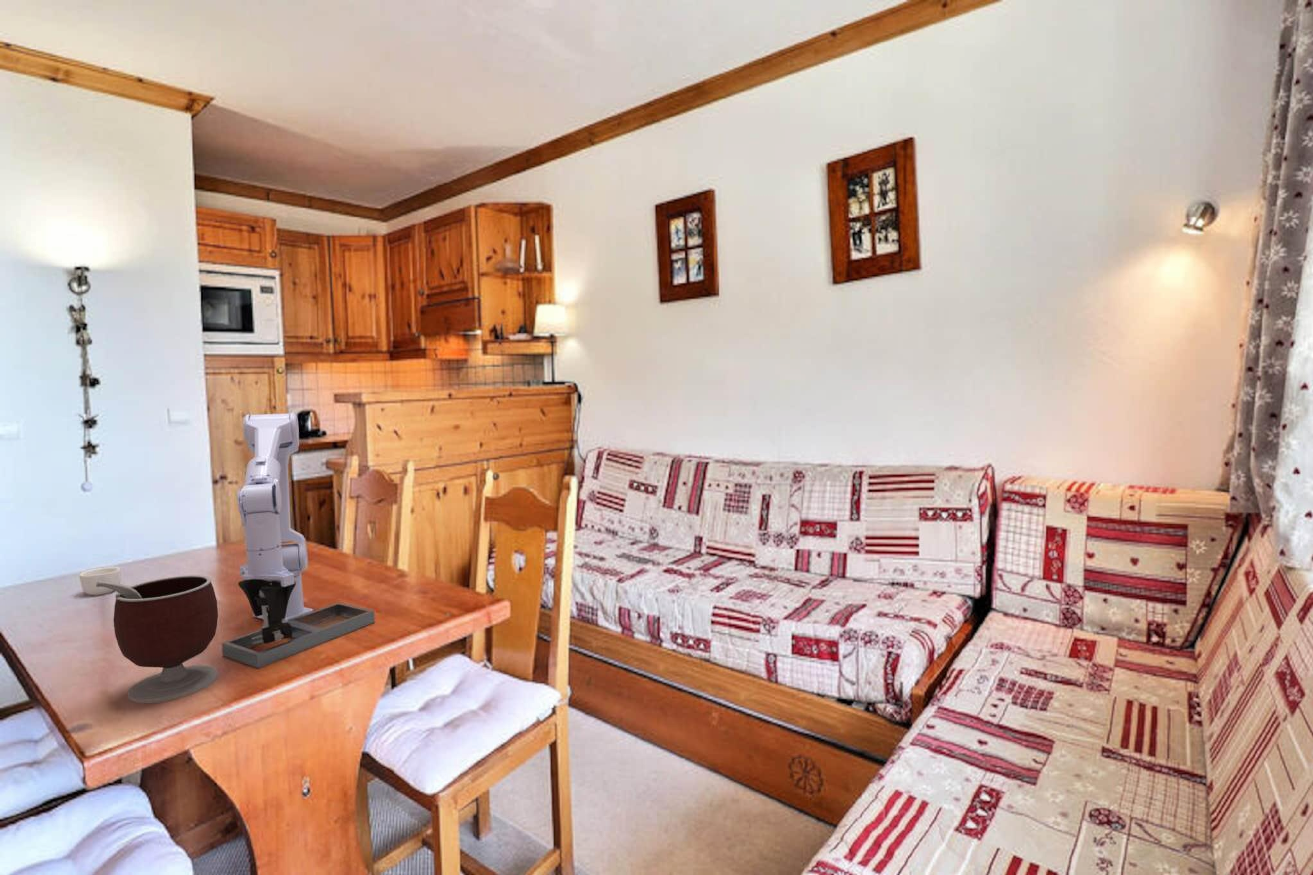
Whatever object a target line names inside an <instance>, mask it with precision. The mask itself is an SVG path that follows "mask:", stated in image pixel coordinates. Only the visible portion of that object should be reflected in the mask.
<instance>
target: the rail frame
mask: <svg viewBox="0 0 1313 875" xmlns="http://www.w3.org/2000/svg"><path fill="white" fill-rule="evenodd" d="M344 617H345V618H344ZM287 622H289V624H290V625H291V631H292V637H290V638H291V640H288V641H285V642H283V643H281V644H277V645H275V646H273V647H270V648H267V649H264V650H261V651H256V650H253V649H250V648H254V647H256V646H258V645H262V644H264V642H259V643H256V641H259V640H262V637H260V638H256V639H252V638H253V637H257V636H259V635H261V629H259V630H255V631H253V632H250V633H249V632H248V633H247V634H244V635H240V636H238V637H235V638H232V639H230V640H226V641H224V642H221V649H222V650H221V651H222V657H224V658H228V659H231V660H233V661H236V662H239V663H242V664H244V665H248V666H250V667H253V668H256V669H260V668H262V667H263V668H264V667H265V666H269V665H270V664H273V663H276V662H278V661H280V660H283V659H285V658H288V657H290V656H293V655H295V654H298V653H301V652H303V651H305V650H306V651H307V650H308V649H311V648H314V647H315V646H319V645H321V644H324V643H326V642H329V641H331V640H333V639H336V638H339V637H341V636H344V635H346V634H349V633H352V632H354V631H357V630H359V629H362V628H364V627H367V626H369V625H372V624H374V623H375V622H376V620H375V610H373V609H372V610H371V609H368V608H362V607H359V606H355V605H351V604H346V603H342V602H336V603H333V604H331V605H329V606H328V605H327V606H325V607H322V608H319V609H317V610H313V611H312V612H310V613H307V614H304V615H301V616H298V617H295V618H292V619H289V620H287ZM290 638H289V639H290ZM253 642H255V644H253Z"/></svg>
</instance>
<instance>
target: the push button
mask: <svg viewBox="0 0 1313 875" xmlns="http://www.w3.org/2000/svg"><path fill="white" fill-rule="evenodd" d="M259 592H260V594H257V595H256V596H255V600H257V605H259V606H262V613H263V619H262V620H263V624H262V628H260V630H261V635H259V636H257V637H253V638H252V639H256V638H260V637H262V640H259V641H256V643H259V642H264V643H263V644H264V645H268V644H270V643H273V642H278V641H281V640H284V639H290V637H292V631H291V625H290V624H289V622H287V619H285V618H284V619H281V620H279V621H276V622H273V621H272V619H271V617H270V612H269V607H268V603H267V600H266V598H265V596H264V594H263V593H262V591H261V590H260V591H259ZM266 607H268V610H267V611H266ZM267 612H268V616H267ZM253 644H255V642H253Z"/></svg>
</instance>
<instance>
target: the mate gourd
mask: <svg viewBox="0 0 1313 875" xmlns="http://www.w3.org/2000/svg"><path fill="white" fill-rule="evenodd" d="M96 587H106V588H110V589H112V590H114V591H115V592H117V593H116V594H115V602H114V610H113V619H112V620H113V628H114V629H113V630H114V636H115V639H116V642H117V644H118V647H119V650H120V652H121V655H123V657H124V658H126V659H127V660H129V661H130V662H131V663H133V664H134V665H135V666H137V667H142V668H162V670H161V672H159V673H155V674H153V675H151V676H147V677H145V678H144V679H141V680H139V681H138V682H136V683H135V684H133V685H132V686H131V687H130V688H129V690H128V691H127V697H128V700H129V701H131V702H133V703H137V704H153V703H162V702H167V701H172V700H175V699H180V698H183V697H185V696H189V695H191V694H194V693H197V692H199V691H201V690H203V689H205V688H207V687H208V686H211V685H212V684H213V683H214V682H215V681H216V680H217V679H218V677H219V672H218V669H217V668H216V667H214V666H211V665H204V664H203V665H202V664H200V665H198V664H197V665H188V666H187V665H186V666H184V665H183V663H185V662H187V661H189V660H190V659H193V658H194V657H196V656H199V655H200V654H203V652H204V651H205V650H207V648H208V647H209V645H210V643H212V640H213V639H214V638H215V636H216V632H217V628H218V618H219V610H218V609H219V608H218V599H217V596H216V592H215V589H214V586H213V583H212V579H211V577H209V576H208V575H207V576H205V575H198V574H197V575H196V574H195V575H193V574H191V575H177V576H169V577H163V578H159V579H153V580H150V581H144V582H141V583H137V584H135V585H131V586H128V585H125V584H121V583H120V584H115V583H109V582H97V584H96Z"/></svg>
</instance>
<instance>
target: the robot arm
mask: <svg viewBox="0 0 1313 875" xmlns="http://www.w3.org/2000/svg"><path fill="white" fill-rule="evenodd" d="M242 421H243V423H242V427H243V428H242V429H243V430H242V431H243V436H244V440H245V442H246V444H247V446H248V449H249V450H250V453H251V454H252V455H254V457H253V458H252V459H251V460H249V462H248V463H247V465H246V470H245V477H244V482H243V483H244V484H243V487H242V488H241V487H240V488H238V491H237V499H236V500H237V507H238V512H239V516H240V520H241V526H242V527H243V530H244V542H245V555H246V564H243V565H240V566H239V567H238V569H239V570H238V571H239V577H241V579H242V580H241V581H238V583H237V584H238V587H240V588H239V589H241V590H242V591H243V594H244V595H245V596H246V598H247V600H248V602H249V605H250V607H251V610H252V613H253V615H252V616H253V617H254V618H258V619H261V620H263V613H262V606H259V605H257V600H255V596H256V595H257V594H260V592H259V591H260V590H261V591H262V593H263V594H264V596H265V598H266V600H267V603H268V607H269V612H270V617H271V619H272V621H273V622H276V621H279V620H281V619H284V618H285V619H287V620H290V619H293V618H296V617H298V616H301V615H304V614H307V613H310V612H313V611H314V609H313V608H309V607H305V605H304V594H303V581H302V572H305V571H306V569H307V568H308V561H309V560H308V548H307V544H306V537H304V535H303V534H302V533H300V532H298V531H296V530H295V529H293V528H291V526H292V524H291V523H292V522H291V504H290V503H291V502H290V482H289V462H290V458H291V455H292V454H293V453H296V452H298V451H299V447H300V436H299V435H300V432H299V430H300V429H299V426H300V425H299V420H298V415H297V414H296V413H295V412H290V413H268V414H266V413H265V414H246V415H245V416H244V417H243V420H242ZM287 543H289V544H287ZM282 544H283V545H282ZM268 607H266V611H267V610H268ZM267 616H268V612H267Z"/></svg>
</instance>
